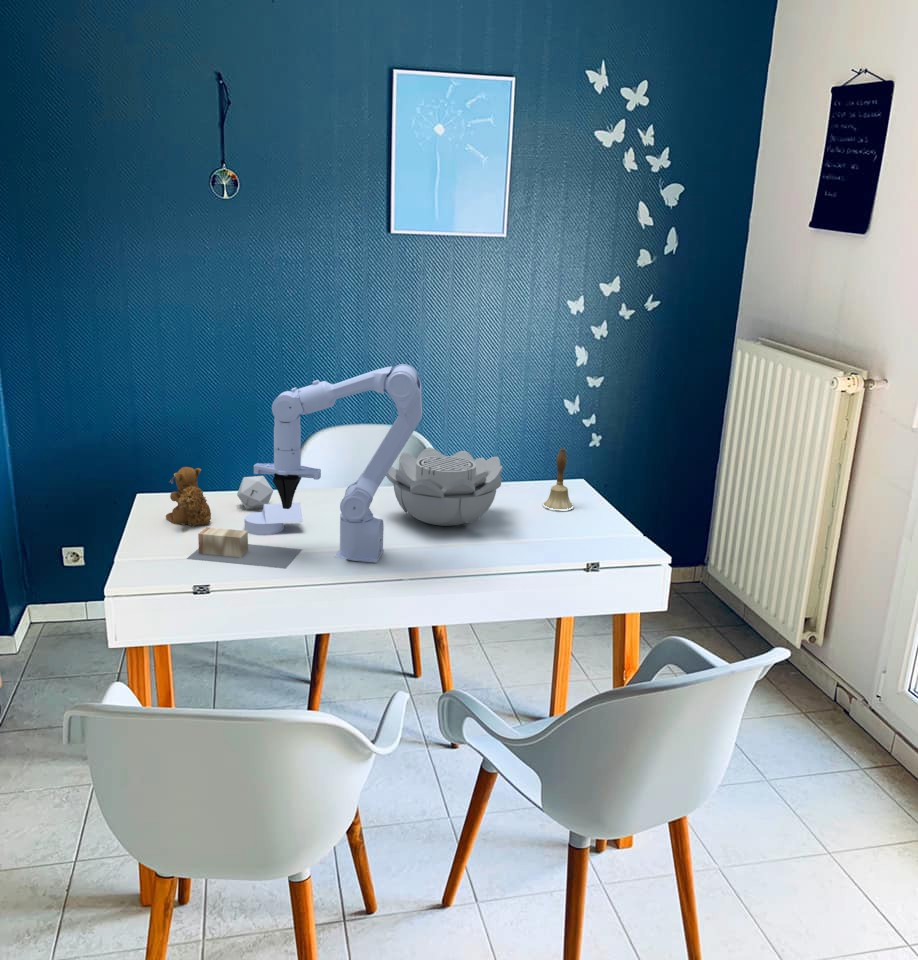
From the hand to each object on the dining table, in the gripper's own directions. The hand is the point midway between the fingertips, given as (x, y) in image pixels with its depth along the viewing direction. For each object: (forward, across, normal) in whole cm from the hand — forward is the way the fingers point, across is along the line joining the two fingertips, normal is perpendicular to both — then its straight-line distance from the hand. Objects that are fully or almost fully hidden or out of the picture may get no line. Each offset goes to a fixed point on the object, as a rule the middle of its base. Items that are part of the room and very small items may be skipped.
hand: (287, 507), depth 209 cm
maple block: (+8, -8, -5) cm, 12 cm away
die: (+11, -18, +29) cm, 36 cm away
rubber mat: (+10, -8, -5) cm, 14 cm away
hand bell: (+10, +58, +51) cm, 78 cm away
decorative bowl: (+10, +31, +31) cm, 45 cm away
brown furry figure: (+11, -28, +14) cm, 33 cm away
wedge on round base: (+11, -8, +13) cm, 19 cm away
